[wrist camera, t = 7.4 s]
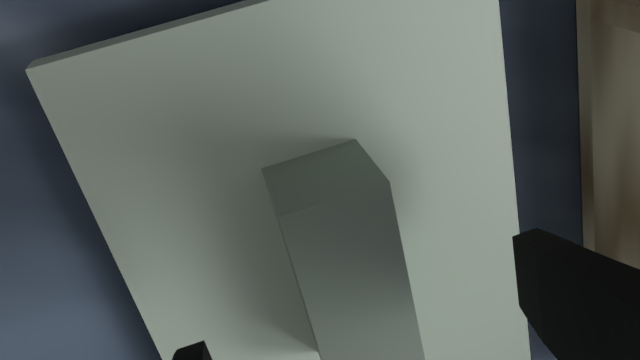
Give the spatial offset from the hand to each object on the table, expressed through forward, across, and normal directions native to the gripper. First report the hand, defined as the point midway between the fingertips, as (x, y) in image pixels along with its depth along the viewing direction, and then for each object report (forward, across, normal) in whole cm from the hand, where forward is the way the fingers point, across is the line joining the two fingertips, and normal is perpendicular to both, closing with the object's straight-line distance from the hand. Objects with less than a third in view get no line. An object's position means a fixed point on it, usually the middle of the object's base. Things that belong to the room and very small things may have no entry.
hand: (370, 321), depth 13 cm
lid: (+4, 0, 0) cm, 4 cm away
